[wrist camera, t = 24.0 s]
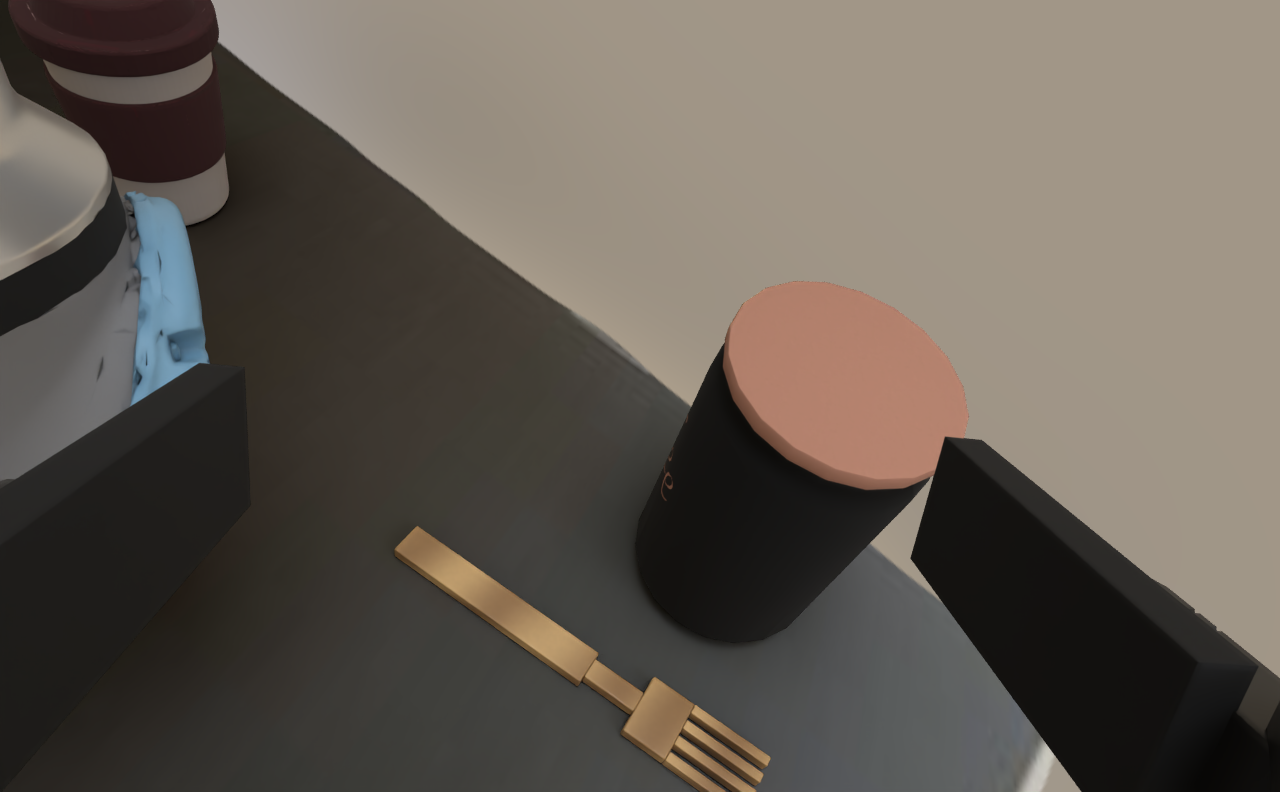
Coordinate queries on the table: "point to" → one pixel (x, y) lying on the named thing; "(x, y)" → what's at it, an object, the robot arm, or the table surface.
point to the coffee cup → (139, 90)
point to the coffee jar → (794, 457)
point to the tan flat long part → (594, 673)
